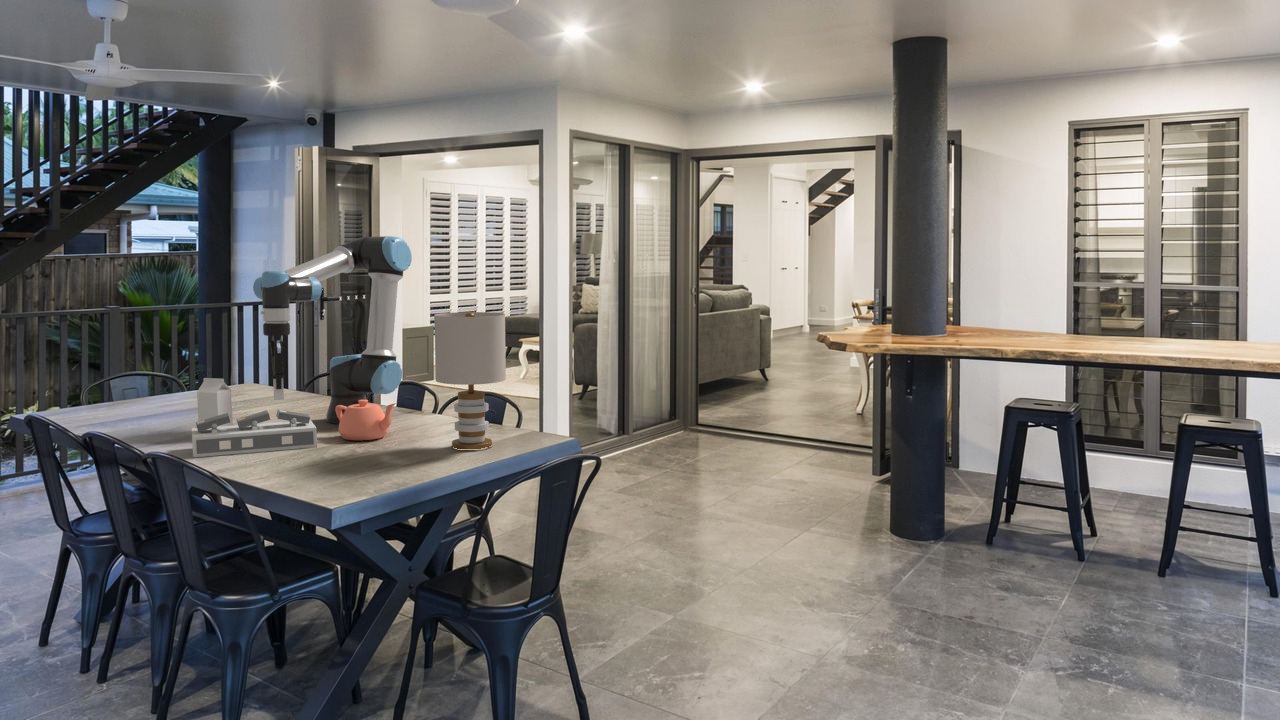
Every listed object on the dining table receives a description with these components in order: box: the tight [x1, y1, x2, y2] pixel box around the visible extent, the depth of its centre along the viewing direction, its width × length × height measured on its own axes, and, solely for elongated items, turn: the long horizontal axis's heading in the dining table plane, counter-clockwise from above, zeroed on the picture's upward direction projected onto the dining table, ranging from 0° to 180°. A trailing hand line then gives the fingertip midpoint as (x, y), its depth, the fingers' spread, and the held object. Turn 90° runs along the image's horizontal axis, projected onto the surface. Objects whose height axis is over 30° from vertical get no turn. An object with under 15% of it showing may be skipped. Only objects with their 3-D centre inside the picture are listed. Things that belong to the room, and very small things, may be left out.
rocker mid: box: [236, 409, 271, 429], centre depth 280 cm, size 9×6×3 cm
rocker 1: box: [195, 413, 230, 432], centre depth 275 cm, size 9×6×3 cm
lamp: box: [433, 311, 507, 449], centre depth 281 cm, size 21×21×41 cm
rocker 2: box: [275, 409, 311, 424], centre depth 285 cm, size 9×6×3 cm
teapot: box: [335, 399, 397, 441], centre depth 295 cm, size 22×15×12 cm
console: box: [191, 419, 318, 458], centre depth 280 cm, size 34×15×7 cm, turn 116°
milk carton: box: [196, 377, 234, 427], centre depth 295 cm, size 7×7×19 cm
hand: (278, 399), depth 282 cm, fingers closed
